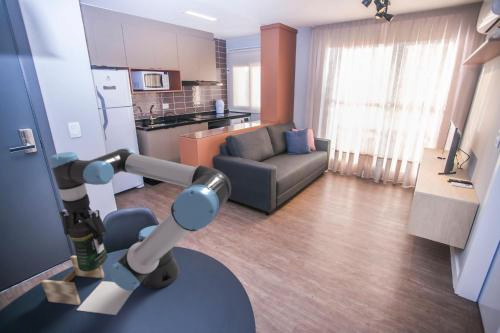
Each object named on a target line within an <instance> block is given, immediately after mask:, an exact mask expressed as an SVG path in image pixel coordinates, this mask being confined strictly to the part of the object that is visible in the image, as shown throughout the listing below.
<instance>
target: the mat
mask: <svg viewBox="0 0 500 333" xmlns="http://www.w3.org/2000/svg"><path fill="white" fill-rule="evenodd" d="M133 291H134V290H132V291H128V290H125V289H122V288H120V287H119V286H118V285H117V284H115V282H114V281H107V280H106V281H105V280H102V281H101V282H100V283H99V284H98V285H97V286H96V288H94V290H93V291H92V292H91V293H90V294H89V295H88V296H87V297H86V298H85V299H84V301H83V302H82V303H80V304H79V307H77V308H76V311H79V312H86V313H87V312H88V313H95V314H105V315H113V316H116V315H117V314H118V313H119V312H120V311H121V309H122V307H123V306H124V304H125V303H126V302H127V300H128V299H129V298H130V296H131V294H133Z"/></svg>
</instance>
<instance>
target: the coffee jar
mask: <svg viewBox="0 0 500 333" xmlns="http://www.w3.org/2000/svg"><path fill="white" fill-rule="evenodd" d="M88 219H89V218H88ZM86 220H87V219H86ZM68 230H69V235H68V236H69V239H70V240H71V241H72V243H73V246H74V250H75V256H77V262H78V267H79V269H80V270H81V271H87V272H88V271H93V270H95V269H97V268H98V267H99V266H100V265H102V264H105V262H106V260H107V259H108V253H107V249H106V248H105V245H104V244H103V246H104V250H103V251H102V252H101V253H97V250H96V246H95V242H94V238H95V236H94V235H93V234H92V232H91V229H90V228H89V227H87V225H86V224H84V223H83V222H82V221H80V220H79V223H77V224H76V225H74V226H73V227H71V228H70V229H68ZM102 266H103V265H102Z"/></svg>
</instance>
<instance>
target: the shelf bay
mask: <svg viewBox="0 0 500 333" xmlns="http://www.w3.org/2000/svg"><path fill="white" fill-rule="evenodd" d="M69 259H70V261H71V264H72V267H73V270H71V271H69V273H67V274H66V275H65V276H64V277H63V278H62V279H60V280H54V279H53V280H52V279H51V280H50V279H44V278H43V279H42V280H40V282H41V285H42V288H43V290H44V292H45V296H46V297H47V301H48V302H50V303H58V304H59V303H60V304H65V305H67V304H68V305H77V306H80V305H81V304H82V303H81V299H80V296H79V292H78V290H77V286H76V284H75V283H76V282H75V281H73V282H72V280H73V279H75V277H89V278H98V279H104V278H105V277H106V276H105V272H104V269H103V265H100V266H99V267H98V268H97V269H95V270H93V271H88V272H87V271H81V270H80V269H79V267H78V262H77V256H76V255H71V256H70V258H69Z"/></svg>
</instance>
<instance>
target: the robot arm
mask: <svg viewBox="0 0 500 333" xmlns="http://www.w3.org/2000/svg"><path fill="white" fill-rule="evenodd" d="M49 161H50V166H51V167H50V168H51V169H50V170H52V172H53V176H54V178H55V179H54V180H55V183H56V185H57V188H58V193H59V195H60V198H61V199H62V200H61V201H62V204H63V208H64V209H63V210H61V211H60V212H59V214H60V216H61V220H62V226H63V231H64V232H63V233H64V235H65V236H69V229H70V228H71V227H73V226H74V225H76V224H77V223H79V222H80V221H82V222H83V223H84V224H86V225H87V227H89V228H90V229H91V232H92V234H93V235H94V236H95V238H94V242H95V246H96V250H97V253H101V252H102V251H103V250H104V247H105V245H104V235H106V234H107V233H108V231H107V230H106V228H105V225H104V223H103V220H102V218H101V215H100V210H99V209H97V210H92V209H91V207H90V205H91V204H90V202H91V201H90V197H89V194H88V191H87V190H88V189H87V187H86V185H92V186H95V185H97V186H98V185H102V186H103V185H107V184H109V183H110V182H111V180H112V179H113V178H114V175H116V174H118V173H120V172H123V173H128V174H131V175H136V176H139V177H144V178H149V179H151V180H152V179H153V180H156V181H161V182H164V183H168V184H173V185H177V186H180V187H185V188H184V189H183V190H182V191H180V192H179V194H178V195H177V197H176V198H175V200H174V201H173V203H171V206H170V212H169V213H168V215H166V216H165V217H164V219H162V220H161V221H160V223H159V224H158V225H151V226H147V227H144V228H142V229H141V230H140V231H139V233H138V241H136V242H135V243H133V244H132V245H131V246H130V247H129V248H128V249H127V251H125V252H124V253H123V254H122V255H121V256H120V257H119V258H118V259H117V260H116V261H113V264H112V265H111V266H110V267H109V269H108V273H109V276H110V278H111V280H112V282H115V284H117V285H118V286H119V287H120V288H122V289H125V290H128V291H132V290H133V291H134V290H136V289H137V288H138V287H140V286H141V283H142V282H143V285H145V286H146V287H147V288H149V289H161V288H165V287H167V286H169V285H170V284H172V283H174V282H175V281H176V279H177V278H178V277H179V275H180V268H179V266H180V265H179V264H178V262H177V261H176V259H175V258H174V255H173V248H174V247H175V246H176V245H177V244H179V242H180V241H181V240H182V239H184V237H186V236H187V235H188V234H189V233H190V232H191V233H194V232H199V231H200V230H201V229H204V228H206V227H207V226H208V225H211V223H212V222H213V221H214V220H215V218H216V217H217V215H218V213H219V212H220V211H221V209H222V208H223V206H224V205H225V204H226V202H227V201H228V199H229V198H230V196H231V194H232V192H231V191H232V185H231V182H230V179H229V177H228V176H227V175H226V174H225V173H224V172H222V171H220V170H218V169H217V168H212V167H209V166H206V165H201V164H199V165H197V166H192V165H189V164H188V165H187V164H183V163H178V162H174V161H169V160H166V159H159V158H156V157H152V156H147V155H142V154H137V152H136V151H135V150H133V149H132V148H130V147H124V148H119V149H116V150H115V151H113V152H110V153H107V154H104V155H100V156H98V157H96V158H93V159H90V160H86V159H85V160H83V159H80V158H79V156H78V154H77V153H76V152H74V151H66V152H60V153H56V154H54V155H51V157H50V158H49ZM88 218H89V219H88ZM86 219H87V220H86ZM103 245H104V246H103Z"/></svg>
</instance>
